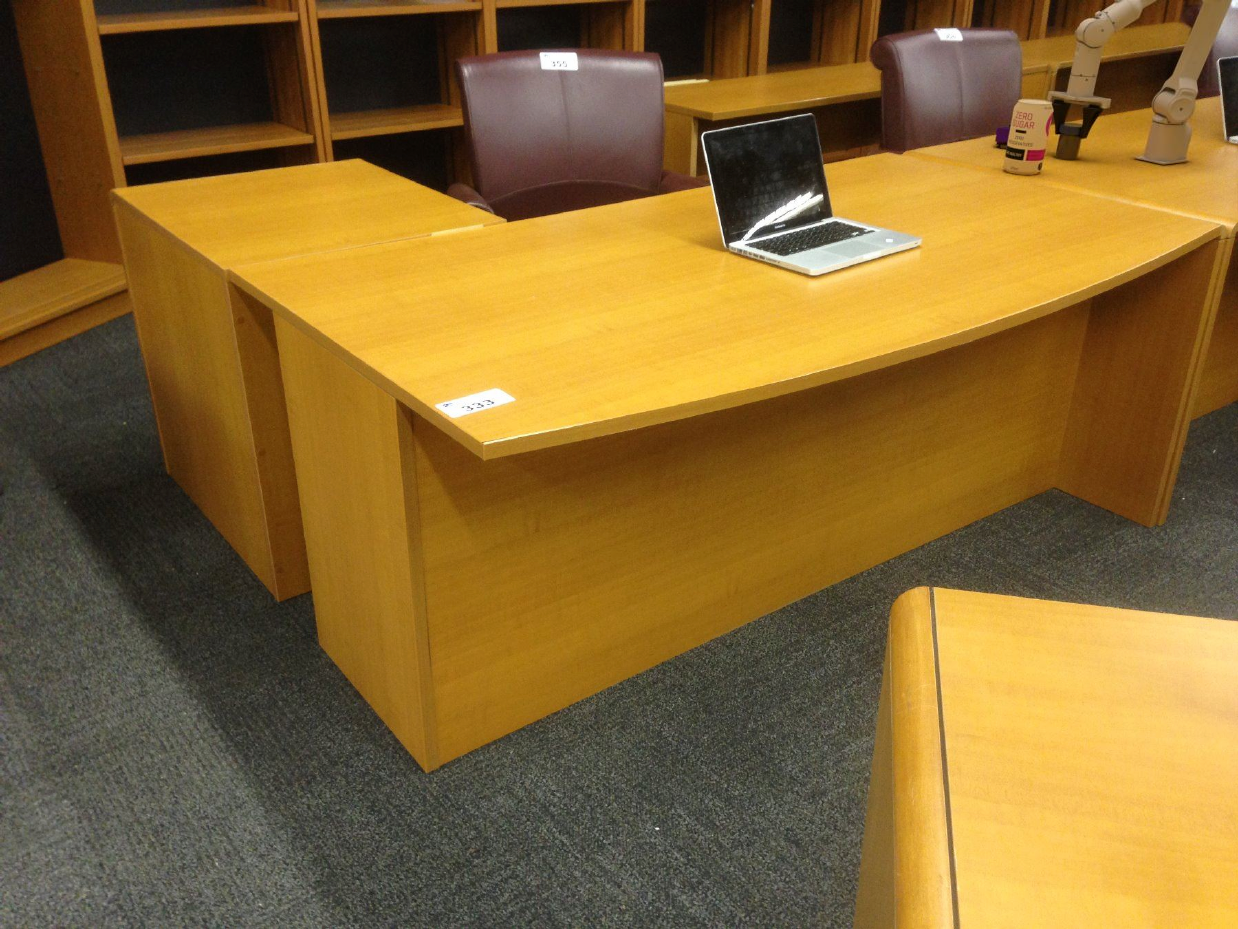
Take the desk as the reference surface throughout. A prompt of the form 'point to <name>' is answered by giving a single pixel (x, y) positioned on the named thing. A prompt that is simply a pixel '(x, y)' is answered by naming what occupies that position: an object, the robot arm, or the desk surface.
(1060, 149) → the jar
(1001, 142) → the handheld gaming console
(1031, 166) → the supplement can
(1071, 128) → the lid
